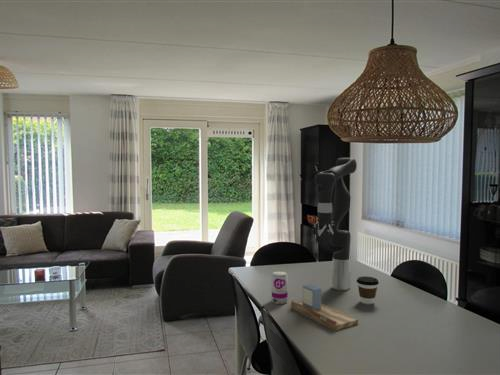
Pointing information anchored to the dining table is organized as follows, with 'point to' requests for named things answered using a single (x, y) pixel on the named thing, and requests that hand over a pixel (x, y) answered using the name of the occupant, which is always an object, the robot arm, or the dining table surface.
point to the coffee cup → (367, 289)
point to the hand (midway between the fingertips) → (324, 242)
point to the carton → (312, 297)
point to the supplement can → (279, 287)
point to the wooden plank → (326, 316)
